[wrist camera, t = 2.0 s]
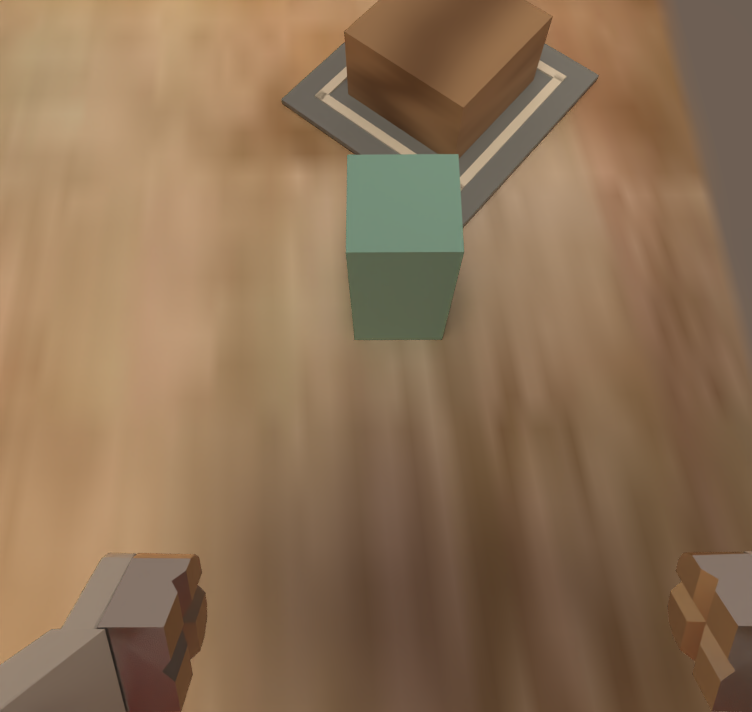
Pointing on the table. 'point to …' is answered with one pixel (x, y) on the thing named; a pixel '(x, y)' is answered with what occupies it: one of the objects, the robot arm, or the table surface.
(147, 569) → the robot arm
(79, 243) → the table surface
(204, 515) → the table surface
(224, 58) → the table surface
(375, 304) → the pillar
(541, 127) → the board
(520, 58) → the base block
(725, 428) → the table surface
